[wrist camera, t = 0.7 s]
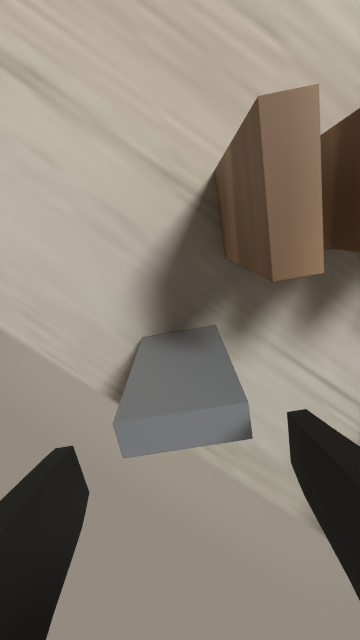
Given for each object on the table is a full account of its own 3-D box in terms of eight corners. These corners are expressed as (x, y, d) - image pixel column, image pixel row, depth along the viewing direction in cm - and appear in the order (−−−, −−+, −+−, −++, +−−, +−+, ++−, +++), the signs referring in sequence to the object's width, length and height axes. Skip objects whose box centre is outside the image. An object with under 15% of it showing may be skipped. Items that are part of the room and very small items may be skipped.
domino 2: (242, 164, 16) (318, 83, 7) (251, 253, 17) (323, 273, 9) (214, 170, 16) (257, 96, 7) (225, 258, 17) (272, 281, 9)
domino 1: (141, 337, 19) (112, 423, 10) (215, 324, 19) (248, 401, 10) (146, 358, 19) (122, 458, 11) (218, 346, 19) (252, 438, 11)
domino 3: (320, 149, 16) (491, 48, 7) (322, 240, 17) (468, 247, 9) (291, 155, 16) (427, 61, 7) (296, 245, 17) (414, 256, 9)
